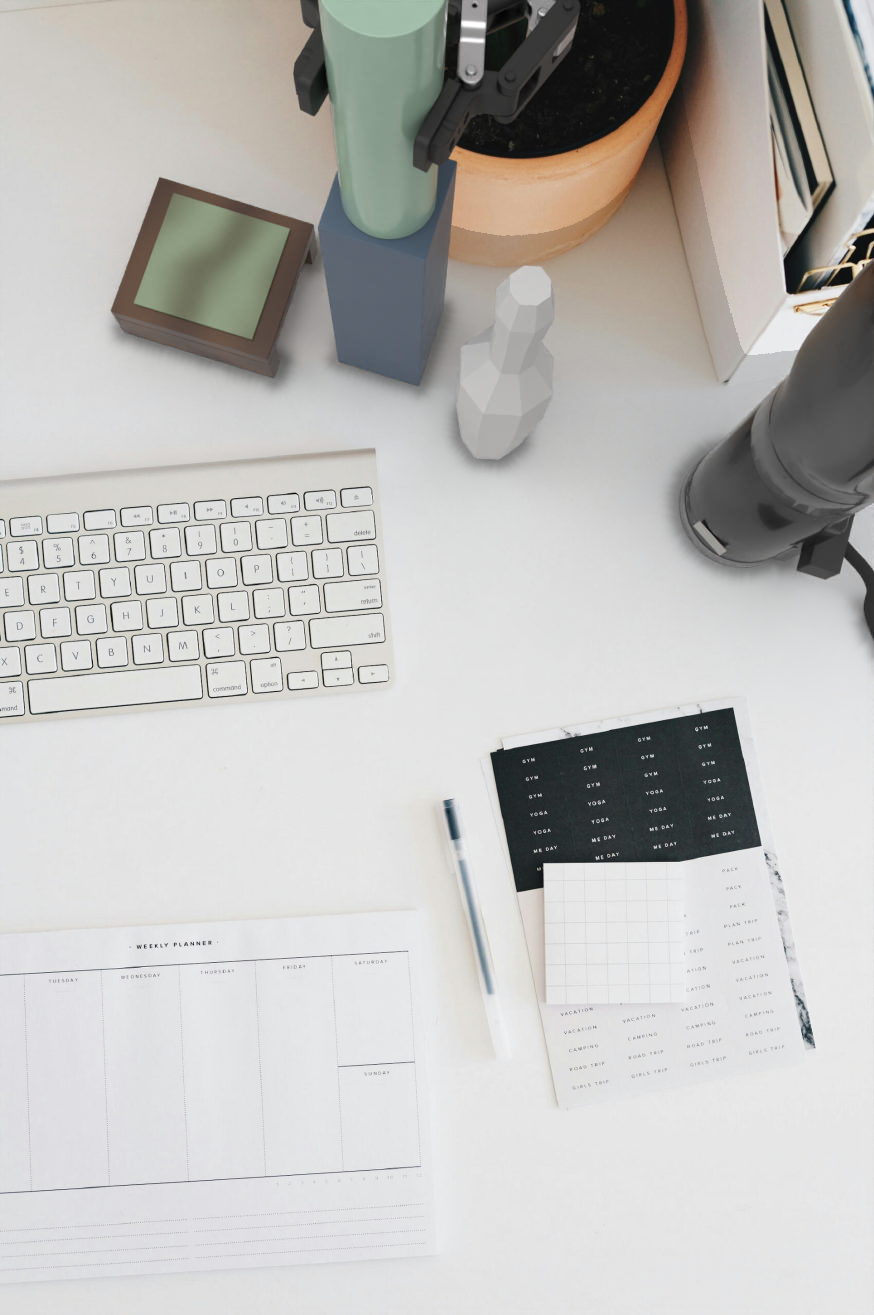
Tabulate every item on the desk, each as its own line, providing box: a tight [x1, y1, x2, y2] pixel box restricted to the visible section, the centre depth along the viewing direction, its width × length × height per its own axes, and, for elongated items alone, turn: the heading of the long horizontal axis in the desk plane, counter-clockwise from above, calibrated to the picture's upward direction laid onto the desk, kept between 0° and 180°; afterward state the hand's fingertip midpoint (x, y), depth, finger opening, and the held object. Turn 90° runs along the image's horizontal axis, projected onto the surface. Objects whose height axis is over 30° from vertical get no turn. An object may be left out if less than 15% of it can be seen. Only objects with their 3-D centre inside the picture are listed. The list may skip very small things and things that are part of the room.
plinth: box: [317, 158, 458, 387], centre depth 62 cm, size 6×6×18 cm
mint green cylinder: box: [318, 0, 449, 239], centre depth 46 cm, size 6×6×15 cm
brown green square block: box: [110, 176, 319, 379], centre depth 69 cm, size 12×11×4 cm
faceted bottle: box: [455, 265, 556, 461], centre depth 60 cm, size 6×6×22 cm
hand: (363, 129), depth 44 cm, fingers closed on mint green cylinder, 5 cm apart
